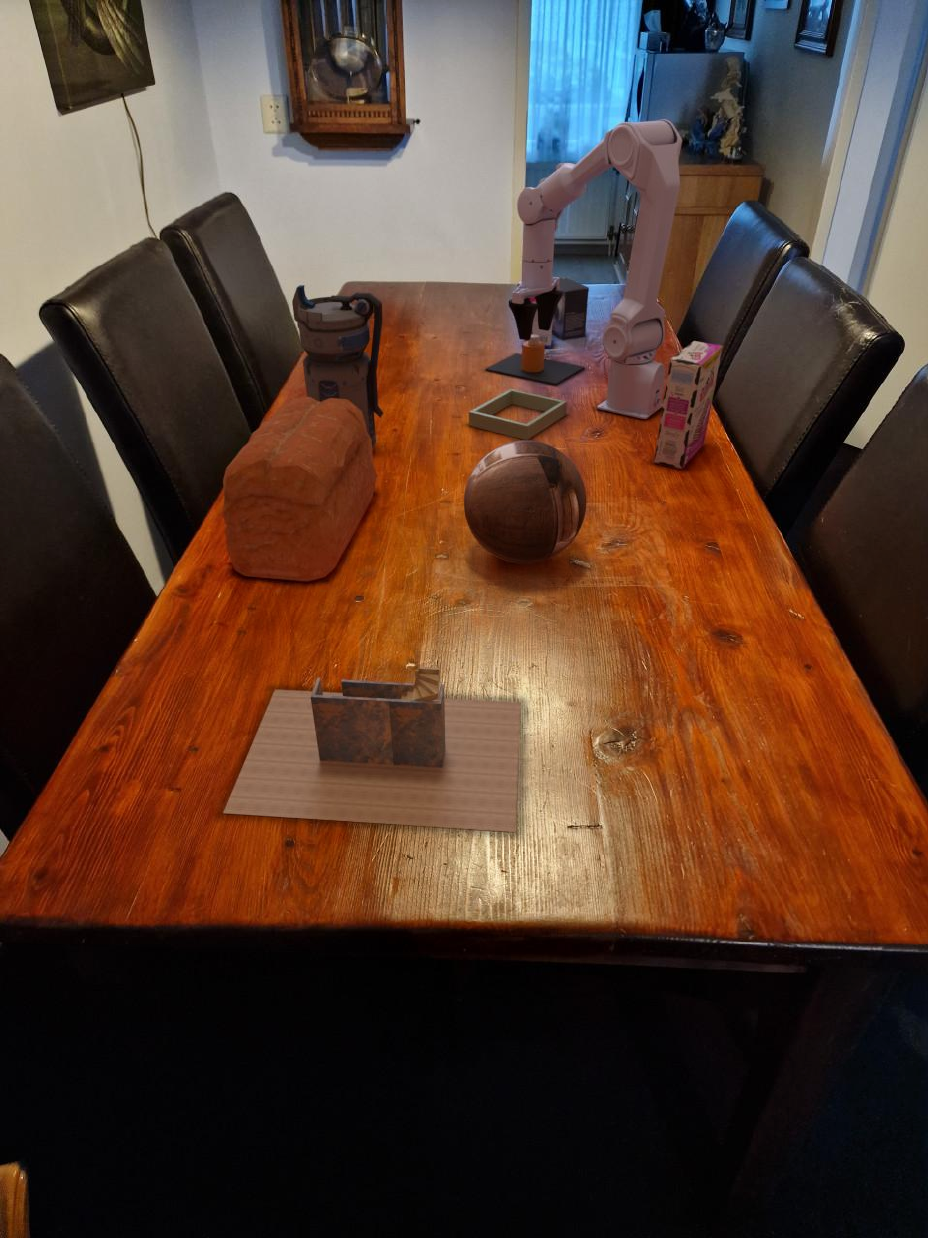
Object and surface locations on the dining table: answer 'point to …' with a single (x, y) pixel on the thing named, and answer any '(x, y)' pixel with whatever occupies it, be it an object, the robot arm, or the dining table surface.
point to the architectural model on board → (384, 757)
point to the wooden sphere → (525, 502)
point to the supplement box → (544, 335)
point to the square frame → (486, 421)
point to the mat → (549, 375)
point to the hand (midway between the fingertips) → (534, 334)
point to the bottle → (533, 354)
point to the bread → (298, 490)
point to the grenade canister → (341, 349)
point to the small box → (570, 310)
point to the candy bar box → (687, 403)
